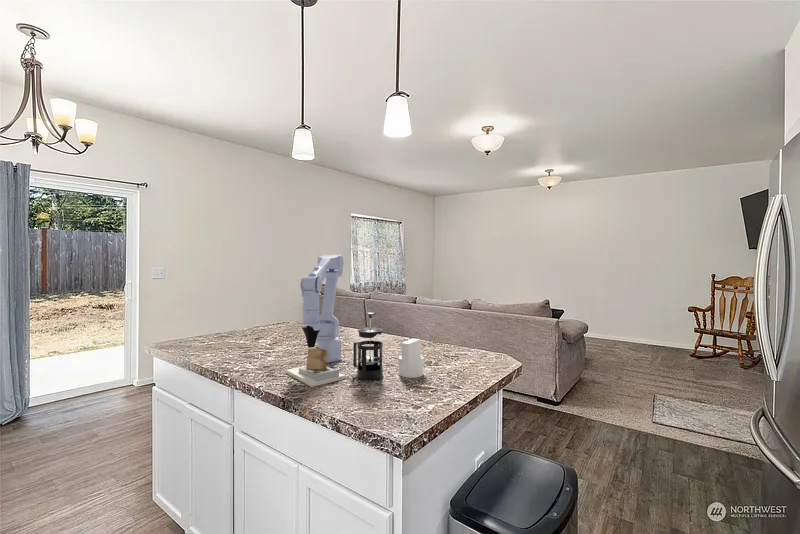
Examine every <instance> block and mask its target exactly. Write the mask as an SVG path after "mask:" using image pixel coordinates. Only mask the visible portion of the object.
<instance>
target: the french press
mask: <svg viewBox="0 0 800 534" xmlns="http://www.w3.org/2000/svg"><path fill="white" fill-rule="evenodd" d="M364 315H368V319H369V327H361V328H358V329H357V332H358V337H360V338H363V339H369V340H362V341H354V342H353V346H352V349H353V350H352V351H353V352H352V354H353V356H352V357H353V360H352V363H353V365H352V366H353V368H356V369H357V370H356V371H357V373H356V379H357V380H359V381H363V382H376V381H380V380H382V379H383V378H384V374H383V373H384V371H383V370H384V369H383V368H384V367H383V346H384V343H383V342H382V341H380V340H372V339H373V338H375V337H376V336H377V335H382V333H383V331H384V329H383V328H379V327H375V326H373V327H372V326H371V325H372V316H373V315H377V312H374V311H367V312H364ZM367 351H369V355H367ZM372 351H373V355H372V354H371V352H372Z"/></svg>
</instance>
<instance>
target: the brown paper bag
mask: <svg viewBox="0 0 800 534" xmlns="http://www.w3.org/2000/svg"><path fill="white" fill-rule="evenodd" d="M327 354H328V350H324V349H321V348H319V347H317V346H316V348H308V349H307V357H306V365H305V366H306V370H311V371H325V370H326V368H327V367H328V366H327V365H328V363H327Z"/></svg>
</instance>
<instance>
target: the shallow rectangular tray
mask: <svg viewBox="0 0 800 534" xmlns="http://www.w3.org/2000/svg"><path fill="white" fill-rule="evenodd" d="M306 366H307V365H304V366H299V367H293V368H290V369H289V368H288V369H286V371H285V372H286V374H287V375H289V376H291V377H293V378H294V379H296V380H298V381H299V382H302V383H303V384H305V385H307V386H309V387H310V388H313V387H317V386H321V385H325V384H329V383H334V382H338V381H342V380H344V379H346V374H343V373H341V372H340V369H339V368H335V369H333V368H331V367H329V366H327V368H326V370H325V371H311V370H306Z"/></svg>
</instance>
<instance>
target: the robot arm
mask: <svg viewBox="0 0 800 534" xmlns="http://www.w3.org/2000/svg"><path fill="white" fill-rule="evenodd" d="M343 271H344V257H343V255H342V254H319V256H318V257H317V266H314V267H313V268H312V269H311V270H310V272H309V273H308V275H306V276H303V277H302V278H301V279H300V285H299V286H300V287H299V288H300V290H301V298H302V321H300V322H299V325H300V326H301V325H303V326H304V327H302V328H301V329H302V331H303V332H304V336H305V340H306V343H307V347H308V348H315V346H316V348H317V347H319V348H321V349H324V350H328V354H327V364H328V363H332V362H338V361H342V360H343V358H342V342H341V339H340V338H339V337H338V336H339V334H340V321H339V319H338V318H337V317H336V316H335V315H334V311H335V303H336V295H337V294H336V293H337V286H338V280H339V277H342V276H343V275H342V274H343ZM324 280H325V285H324V291H323V292H324V294H323V298H322V299H323V301H322V308H321V313H320V293H321V292H322V289H323V287H322V286H323V282H324Z"/></svg>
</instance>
